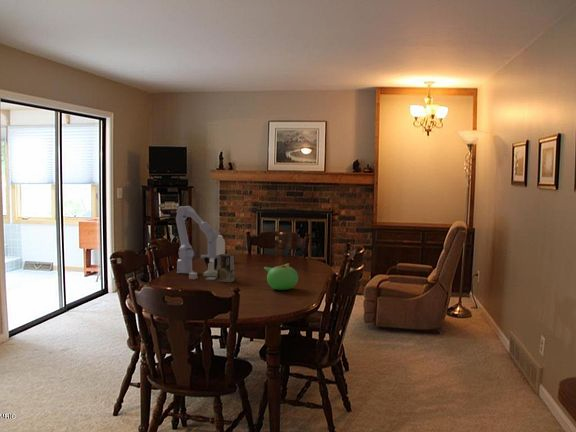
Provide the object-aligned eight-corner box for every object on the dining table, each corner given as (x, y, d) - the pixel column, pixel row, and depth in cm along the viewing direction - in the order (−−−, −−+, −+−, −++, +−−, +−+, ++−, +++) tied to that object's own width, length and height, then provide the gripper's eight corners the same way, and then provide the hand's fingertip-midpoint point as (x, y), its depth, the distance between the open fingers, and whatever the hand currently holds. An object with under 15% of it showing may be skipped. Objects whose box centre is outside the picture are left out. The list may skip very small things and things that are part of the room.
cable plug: (189, 279, 314) (189, 273, 314) (191, 277, 318) (191, 272, 318) (196, 279, 313) (196, 273, 313) (198, 278, 317) (198, 272, 317)
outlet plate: (203, 275, 325) (203, 272, 324) (207, 273, 334) (207, 270, 333) (221, 276, 323) (221, 273, 323) (224, 274, 332) (225, 271, 332)
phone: (204, 281, 311) (204, 279, 311) (208, 278, 319) (208, 276, 318) (214, 281, 310) (214, 279, 310) (217, 279, 318) (217, 277, 318)
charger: (207, 272, 326) (207, 263, 325) (209, 271, 330) (209, 262, 329) (213, 272, 325) (213, 263, 325) (215, 271, 329) (215, 262, 329)
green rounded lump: (272, 293, 278) (273, 267, 277) (261, 287, 294) (262, 262, 293) (302, 291, 285) (302, 265, 284) (290, 285, 301) (290, 261, 300)
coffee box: (234, 280, 312) (235, 254, 310) (230, 282, 305) (230, 256, 304) (221, 279, 315) (221, 253, 313) (216, 281, 308) (217, 255, 307)
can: (210, 259, 389) (211, 234, 388) (226, 260, 388) (226, 234, 386) (205, 262, 377) (206, 235, 376) (222, 263, 375) (222, 236, 374)
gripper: (199, 249, 324) (199, 270, 325) (221, 250, 322) (221, 271, 323) (202, 247, 331) (202, 268, 332) (224, 248, 329) (223, 269, 330)
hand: (211, 269), depth 328 cm, fingers closed on charger, 4 cm apart
